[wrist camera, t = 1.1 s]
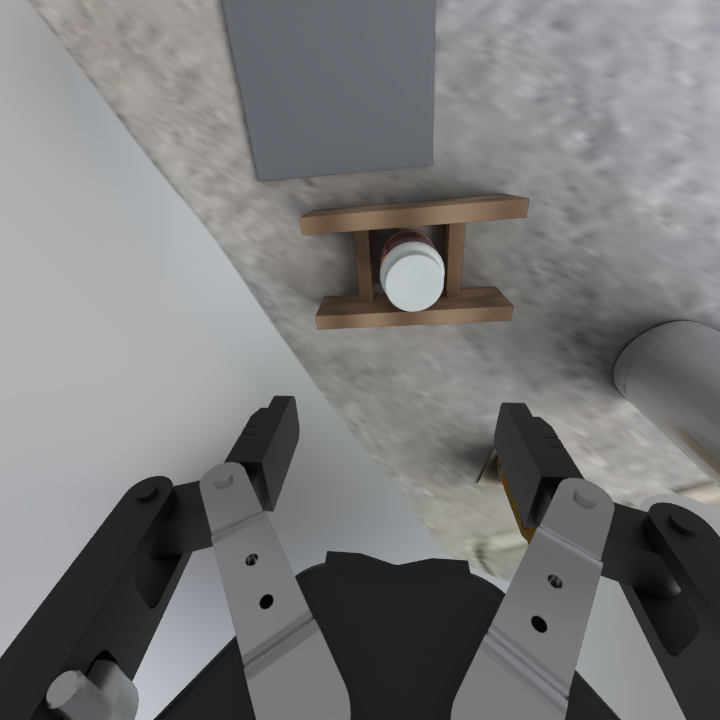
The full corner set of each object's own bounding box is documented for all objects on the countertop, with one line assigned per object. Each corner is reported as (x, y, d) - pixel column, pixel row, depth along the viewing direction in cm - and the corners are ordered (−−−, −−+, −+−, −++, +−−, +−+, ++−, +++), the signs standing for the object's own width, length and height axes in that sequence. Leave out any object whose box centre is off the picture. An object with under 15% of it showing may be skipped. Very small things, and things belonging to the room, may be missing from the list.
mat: (436, -111, 20) (437, -117, 19) (431, 164, 26) (432, 164, 26) (210, -70, 21) (206, -75, 21) (260, 181, 28) (258, 181, 27)
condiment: (561, 444, 39) (623, 542, 29) (531, 491, 44) (576, 592, 33) (500, 433, 39) (541, 528, 29) (476, 482, 43) (504, 580, 33)
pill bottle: (374, 239, 30) (369, 262, 22) (427, 220, 29) (441, 237, 21) (389, 289, 32) (390, 325, 24) (439, 273, 31) (456, 306, 23)
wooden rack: (506, 194, 27) (529, 198, 23) (494, 299, 31) (511, 320, 27) (312, 210, 29) (299, 217, 24) (326, 308, 33) (317, 329, 29)
